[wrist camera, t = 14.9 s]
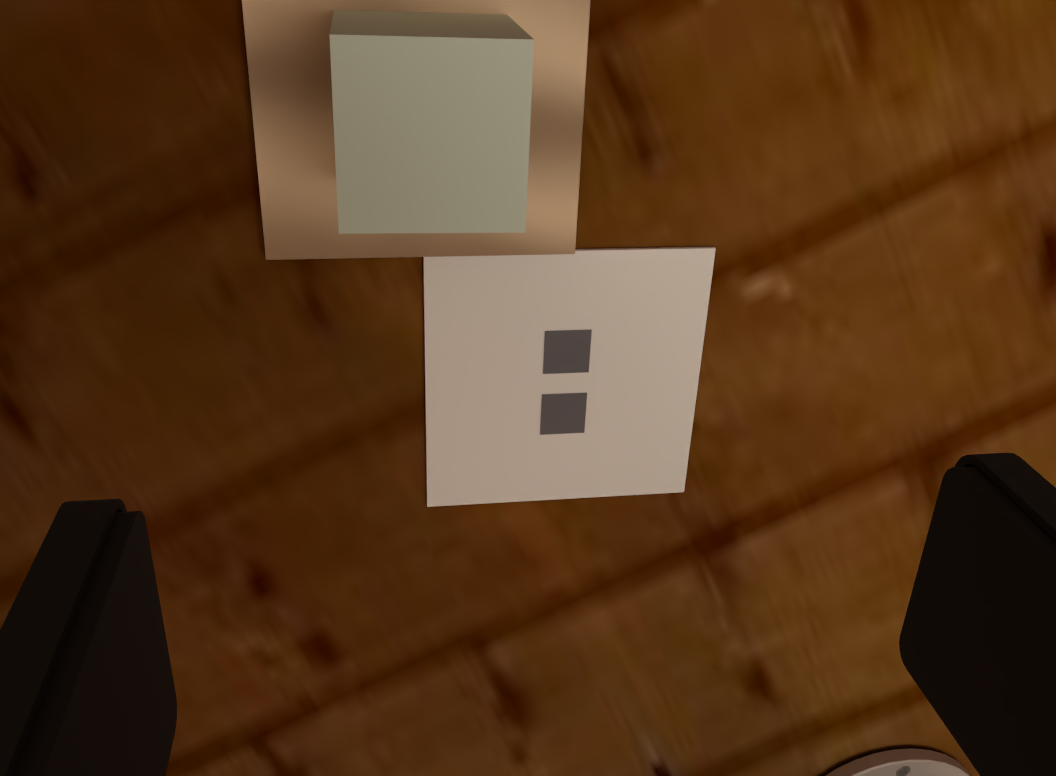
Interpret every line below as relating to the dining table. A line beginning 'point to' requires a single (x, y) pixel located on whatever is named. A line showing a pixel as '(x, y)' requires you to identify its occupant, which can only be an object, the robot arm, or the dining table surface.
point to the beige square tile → (308, 130)
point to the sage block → (430, 121)
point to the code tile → (562, 372)
